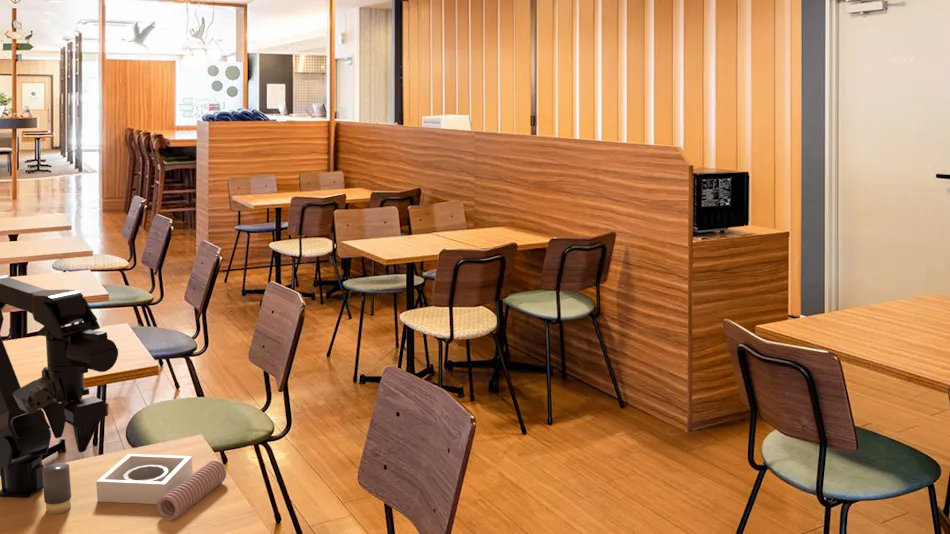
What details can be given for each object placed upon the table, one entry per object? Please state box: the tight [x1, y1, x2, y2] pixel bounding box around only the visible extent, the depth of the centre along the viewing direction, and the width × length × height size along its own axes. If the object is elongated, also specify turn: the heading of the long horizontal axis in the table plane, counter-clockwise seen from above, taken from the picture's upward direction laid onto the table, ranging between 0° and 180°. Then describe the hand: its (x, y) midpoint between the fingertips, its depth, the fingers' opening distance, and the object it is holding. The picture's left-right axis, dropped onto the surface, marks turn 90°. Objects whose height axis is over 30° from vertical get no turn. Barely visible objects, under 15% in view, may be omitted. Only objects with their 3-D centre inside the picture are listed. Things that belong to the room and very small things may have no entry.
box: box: [95, 453, 194, 505], centre depth 164 cm, size 13×13×4 cm
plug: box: [42, 462, 72, 515], centre depth 154 cm, size 4×4×8 cm
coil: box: [156, 460, 227, 522], centre depth 159 cm, size 5×5×18 cm
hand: (69, 444), depth 154 cm, fingers open, 9 cm apart
